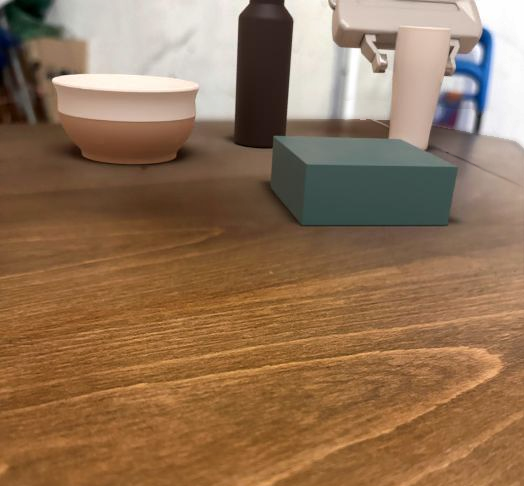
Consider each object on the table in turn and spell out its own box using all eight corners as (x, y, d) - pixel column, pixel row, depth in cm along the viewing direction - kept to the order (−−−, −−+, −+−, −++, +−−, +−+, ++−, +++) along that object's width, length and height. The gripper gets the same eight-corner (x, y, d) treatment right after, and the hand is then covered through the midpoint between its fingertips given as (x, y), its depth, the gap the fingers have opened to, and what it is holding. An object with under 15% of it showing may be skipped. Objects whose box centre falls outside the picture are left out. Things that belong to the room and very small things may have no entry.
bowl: (67, 171, 68) (61, 88, 64) (50, 142, 81) (43, 72, 77) (217, 167, 73) (219, 90, 70) (178, 141, 87) (177, 75, 83)
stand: (393, 189, 69) (400, 139, 67) (447, 225, 57) (458, 166, 55) (270, 187, 66) (273, 135, 64) (301, 225, 55) (306, 163, 53)
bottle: (226, 144, 86) (231, -34, 77) (244, 137, 92) (251, -29, 83) (276, 150, 85) (287, -31, 76) (291, 142, 90) (303, -27, 81)
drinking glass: (436, 149, 92) (457, 29, 85) (426, 156, 86) (447, 28, 80) (389, 143, 94) (405, 25, 88) (375, 149, 89) (391, 25, 82)
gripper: (331, -38, 86) (345, 49, 82) (477, -26, 90) (497, 57, 86) (319, 1, 92) (332, 84, 88) (456, 10, 96) (474, 90, 92)
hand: (415, 71), depth 87 cm, fingers open, 8 cm apart
